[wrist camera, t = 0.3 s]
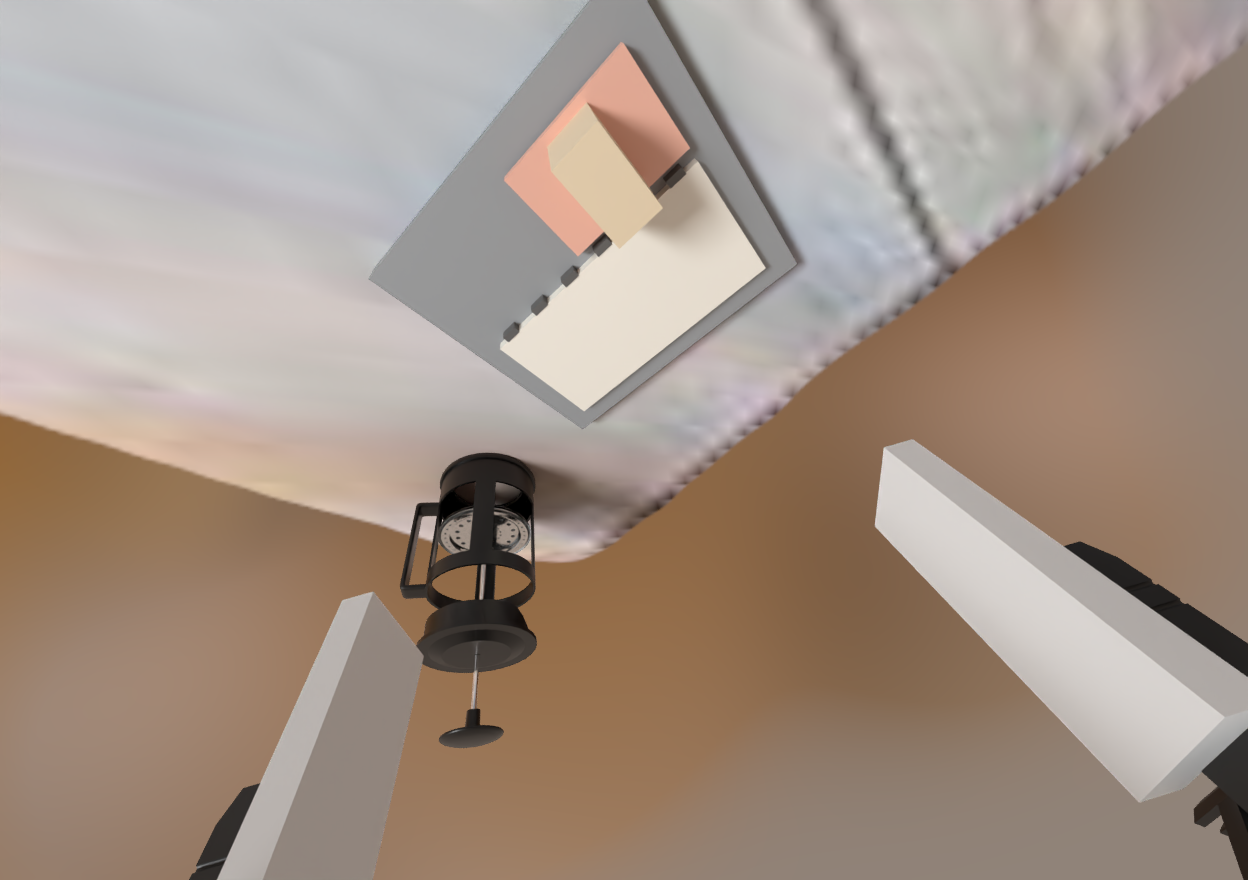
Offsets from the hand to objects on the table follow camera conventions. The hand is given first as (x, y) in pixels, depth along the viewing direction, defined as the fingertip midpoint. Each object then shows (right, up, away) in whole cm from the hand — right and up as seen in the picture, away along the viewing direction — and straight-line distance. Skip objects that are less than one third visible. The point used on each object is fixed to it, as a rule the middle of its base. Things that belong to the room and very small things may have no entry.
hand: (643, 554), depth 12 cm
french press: (-15, -1, +35) cm, 38 cm away
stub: (-2, +19, +15) cm, 24 cm away
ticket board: (-3, +16, +21) cm, 26 cm away
